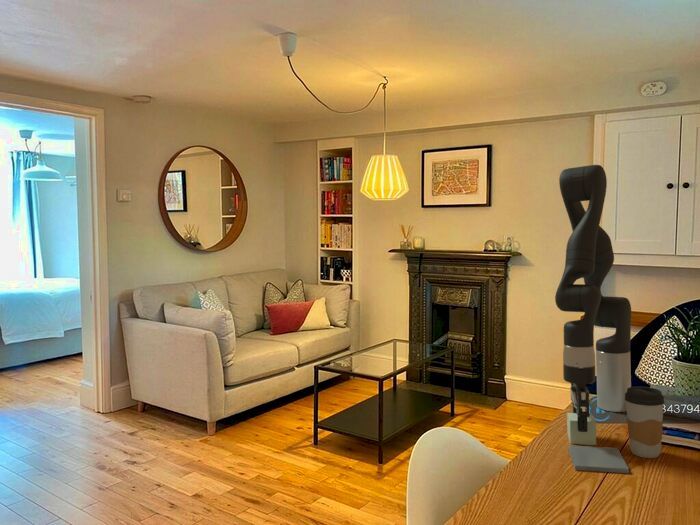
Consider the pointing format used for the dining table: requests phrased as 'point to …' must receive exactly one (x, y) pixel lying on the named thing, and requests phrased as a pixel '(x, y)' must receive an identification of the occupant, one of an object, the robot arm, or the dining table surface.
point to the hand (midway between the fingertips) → (580, 425)
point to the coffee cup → (644, 420)
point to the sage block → (581, 437)
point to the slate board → (597, 459)
